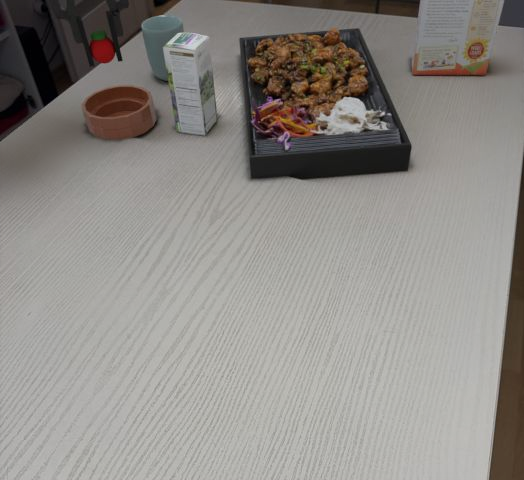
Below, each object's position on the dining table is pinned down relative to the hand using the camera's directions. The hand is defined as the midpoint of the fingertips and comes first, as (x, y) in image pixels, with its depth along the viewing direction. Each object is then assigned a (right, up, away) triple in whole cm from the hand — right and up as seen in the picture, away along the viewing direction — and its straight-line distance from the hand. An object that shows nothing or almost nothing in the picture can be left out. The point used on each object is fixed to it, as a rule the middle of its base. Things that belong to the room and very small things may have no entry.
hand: (105, 60), depth 89 cm
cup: (+7, +8, +22) cm, 25 cm away
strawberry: (0, 0, 0) cm, 0 cm away
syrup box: (+14, -7, +9) cm, 18 cm away
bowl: (0, -6, +10) cm, 12 cm away
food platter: (+35, -3, +11) cm, 37 cm away
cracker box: (+62, +8, +18) cm, 65 cm away
